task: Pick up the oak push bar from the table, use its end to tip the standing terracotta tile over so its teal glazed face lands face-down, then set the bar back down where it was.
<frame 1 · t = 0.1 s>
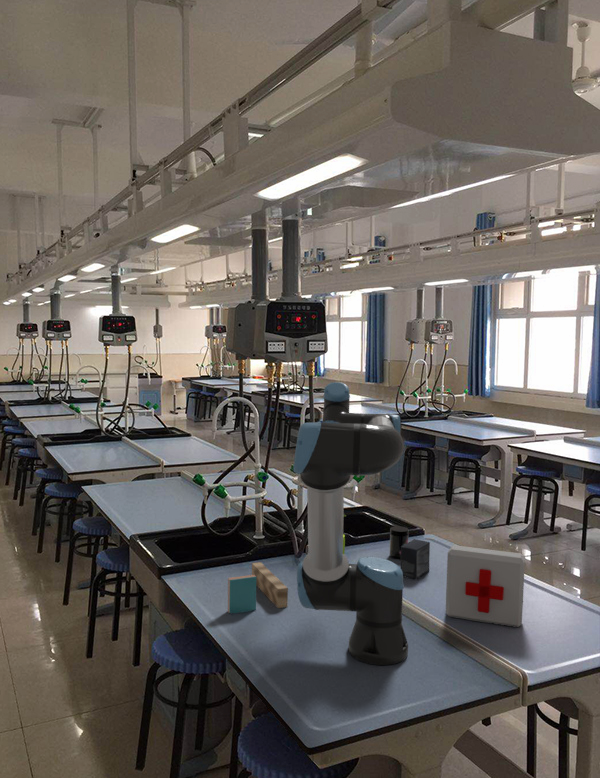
hand: (337, 473, 215), 36 cm above the table, tool tilted 35°, fingers open, 13 cm apart
supplement container: (398, 557, 243), on the table
soap dispenser: (336, 572, 225), on the table
small box: (414, 574, 226), on the table
tile: (242, 594, 192), point 5 cm above the table
push bar: (268, 593, 206), on the table
bevelled white case: (483, 620, 189), on the table
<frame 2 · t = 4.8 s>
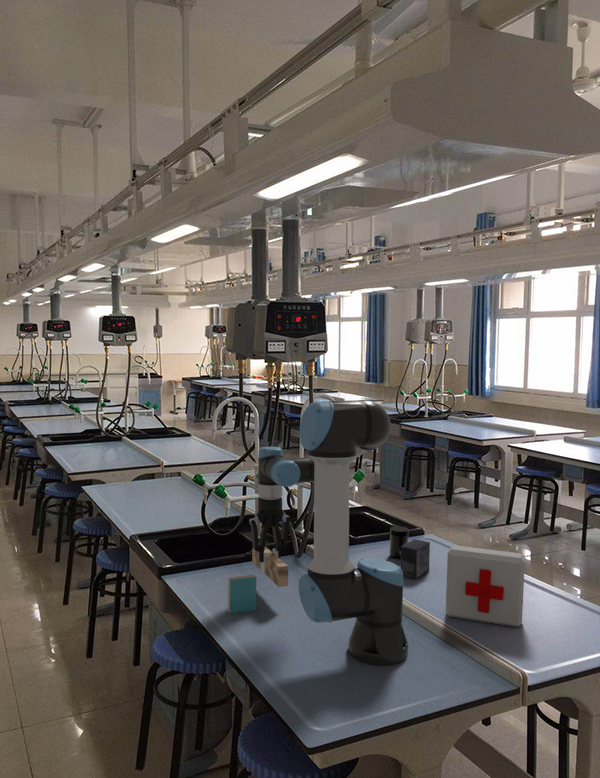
hand: (269, 571, 205), 7 cm above the table, tool pointing down, fingers closed on push bar, 3 cm apart
push bar: (269, 573, 205), point 6 cm above the table, touching gripper
everything else where it was.
when the fingers open (0 cm above the table, at t = 15.0 s): push bar stays where it is, on the table.
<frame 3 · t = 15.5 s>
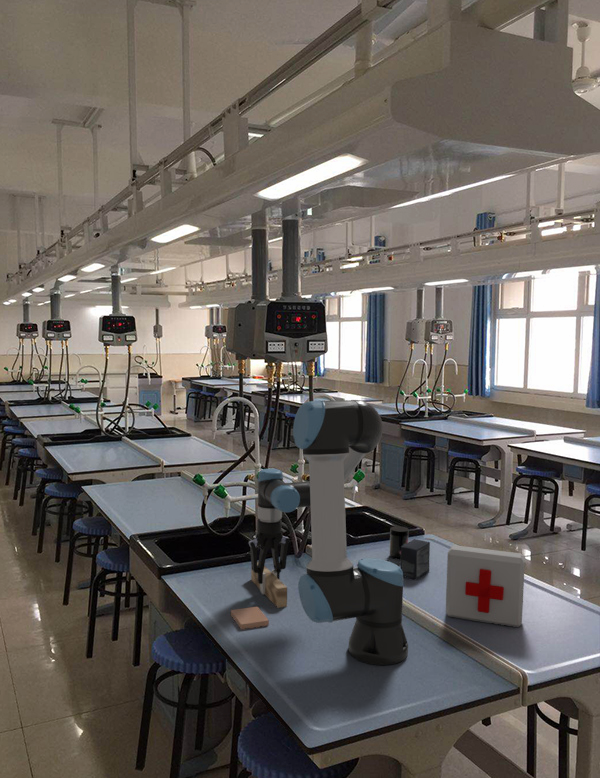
hand: (268, 591, 206), 0 cm above the table, tool pointing down, fingers open, 3 cm apart
tile: (249, 618, 186), on the table, tilted 90°
push bar: (268, 593, 207), on the table, touching gripper
everything else where it was.
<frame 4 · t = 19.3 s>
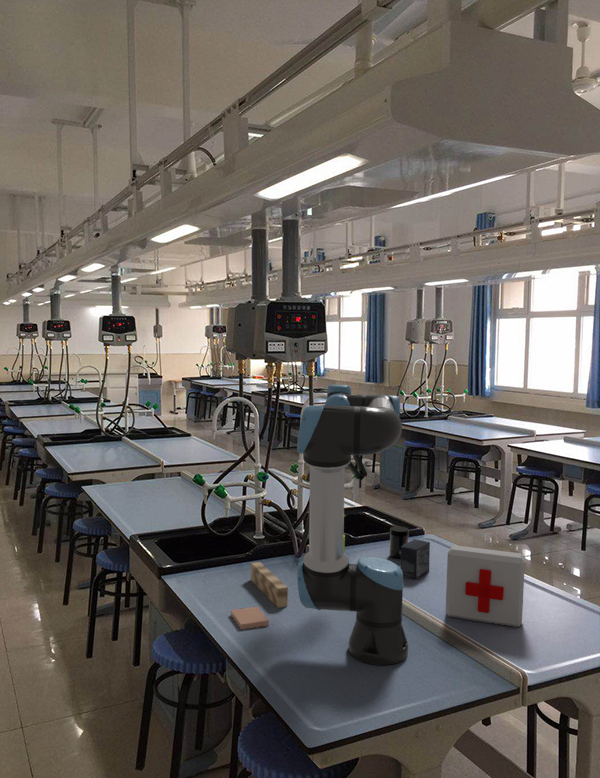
hand: (336, 500, 208), 29 cm above the table, tool pointing down, fingers open, 13 cm apart
push bar: (268, 593, 207), on the table
everything else where it was.
at the end: tile inside the target area (1.1 cm from its centre), point 0.5 cm above the table; push bar inside the target area (0.4 cm from its centre), on the table; the gripper is holding nothing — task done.
